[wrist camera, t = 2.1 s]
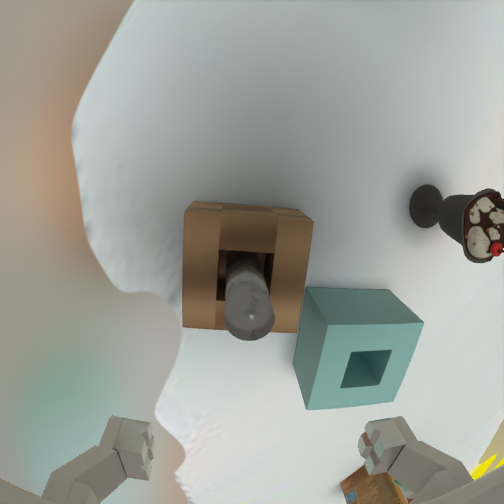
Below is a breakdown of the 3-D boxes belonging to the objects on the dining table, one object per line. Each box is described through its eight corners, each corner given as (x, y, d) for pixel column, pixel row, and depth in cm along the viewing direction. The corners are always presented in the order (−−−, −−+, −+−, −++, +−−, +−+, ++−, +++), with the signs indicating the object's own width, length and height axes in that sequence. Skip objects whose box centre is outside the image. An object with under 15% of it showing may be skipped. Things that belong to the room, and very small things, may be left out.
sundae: (408, 243, 32) (499, 297, 17) (397, 185, 30) (499, 211, 15) (451, 226, 32) (543, 266, 17) (442, 171, 30) (543, 189, 15)
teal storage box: (306, 287, 32) (328, 324, 25) (388, 289, 33) (424, 322, 26) (292, 363, 35) (306, 410, 28) (368, 361, 36) (393, 401, 28)
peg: (227, 242, 29) (226, 295, 18) (259, 244, 30) (277, 298, 18) (225, 272, 30) (223, 339, 19) (256, 274, 31) (271, 341, 19)
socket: (193, 201, 29) (184, 211, 23) (298, 209, 30) (313, 221, 24) (190, 298, 32) (182, 327, 26) (285, 303, 33) (296, 332, 27)
